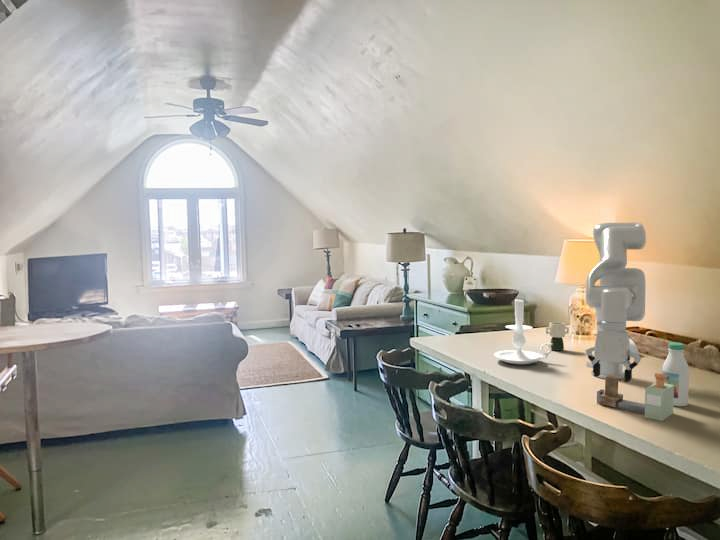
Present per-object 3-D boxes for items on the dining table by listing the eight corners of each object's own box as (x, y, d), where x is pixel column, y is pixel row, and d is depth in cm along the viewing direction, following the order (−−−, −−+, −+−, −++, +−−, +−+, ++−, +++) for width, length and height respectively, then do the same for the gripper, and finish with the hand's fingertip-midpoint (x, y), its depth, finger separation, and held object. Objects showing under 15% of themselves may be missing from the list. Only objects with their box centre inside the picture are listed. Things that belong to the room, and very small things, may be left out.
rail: (596, 403, 182) (596, 391, 182) (601, 400, 185) (601, 389, 185) (648, 414, 171) (648, 402, 171) (652, 411, 173) (652, 399, 173)
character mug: (565, 348, 266) (566, 321, 265) (571, 351, 259) (571, 324, 258) (543, 348, 266) (543, 322, 265) (548, 351, 259) (548, 324, 258)
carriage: (599, 403, 180) (600, 377, 180) (607, 399, 185) (608, 373, 184) (615, 407, 177) (615, 380, 176) (622, 402, 181) (623, 376, 181)
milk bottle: (678, 399, 186) (680, 341, 184) (693, 406, 178) (695, 345, 177) (656, 400, 186) (658, 341, 184) (669, 407, 178) (672, 346, 176)
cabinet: (644, 417, 168) (644, 388, 168) (655, 409, 176) (656, 381, 175) (661, 421, 165) (662, 392, 164) (673, 413, 172) (674, 385, 171)
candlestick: (559, 368, 228) (560, 301, 226) (498, 368, 229) (499, 301, 227) (545, 357, 248) (546, 295, 246) (490, 356, 250) (490, 295, 248)
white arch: (593, 346, 271) (593, 332, 270) (615, 345, 273) (615, 331, 272) (623, 357, 247) (623, 341, 247) (647, 356, 249) (647, 340, 249)
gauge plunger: (652, 396, 170) (653, 374, 170) (656, 394, 172) (656, 372, 172) (663, 398, 168) (663, 376, 167) (666, 396, 170) (667, 374, 169)
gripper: (581, 325, 182) (580, 376, 183) (636, 331, 170) (635, 385, 171) (591, 322, 188) (590, 372, 189) (645, 328, 175) (644, 381, 176)
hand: (611, 378), depth 180 cm, fingers open, 9 cm apart
